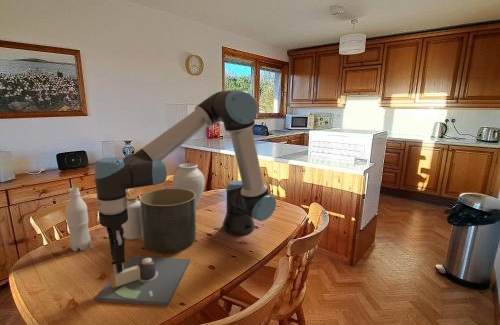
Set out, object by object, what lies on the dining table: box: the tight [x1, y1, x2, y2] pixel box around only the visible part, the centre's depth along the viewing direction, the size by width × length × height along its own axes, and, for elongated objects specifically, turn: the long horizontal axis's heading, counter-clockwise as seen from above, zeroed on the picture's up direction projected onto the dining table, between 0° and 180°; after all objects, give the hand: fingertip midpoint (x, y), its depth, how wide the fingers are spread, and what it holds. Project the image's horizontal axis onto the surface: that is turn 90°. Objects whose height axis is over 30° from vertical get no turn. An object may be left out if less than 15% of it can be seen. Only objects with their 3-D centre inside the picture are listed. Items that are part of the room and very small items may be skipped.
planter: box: [139, 187, 197, 254], centre depth 110 cm, size 22×22×20 cm
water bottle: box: [64, 187, 92, 252], centre depth 101 cm, size 7×7×25 cm
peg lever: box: [109, 258, 156, 288], centre depth 83 cm, size 13×5×6 cm, turn 126°
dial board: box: [94, 255, 191, 307], centre depth 86 cm, size 22×22×1 cm
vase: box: [171, 162, 206, 207], centre depth 146 cm, size 18×18×25 cm
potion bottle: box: [122, 195, 143, 241], centre depth 113 cm, size 8×8×18 cm
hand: (119, 278), depth 82 cm, fingers closed
